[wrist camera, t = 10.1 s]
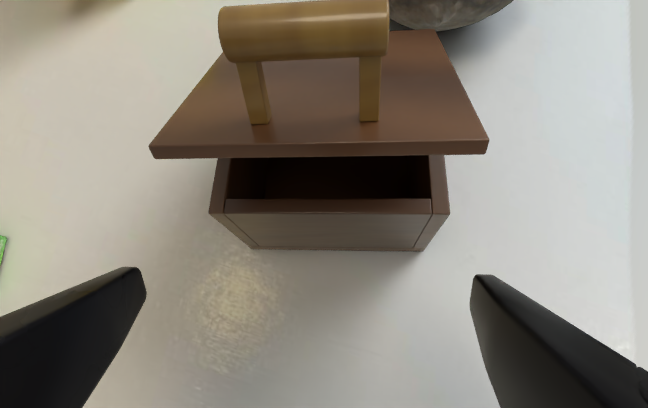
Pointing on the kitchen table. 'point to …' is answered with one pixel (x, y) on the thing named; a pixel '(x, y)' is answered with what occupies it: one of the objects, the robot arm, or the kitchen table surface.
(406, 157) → the chest
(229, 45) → the lid
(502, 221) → the kitchen table surface
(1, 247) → the ink box
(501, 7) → the bowl
